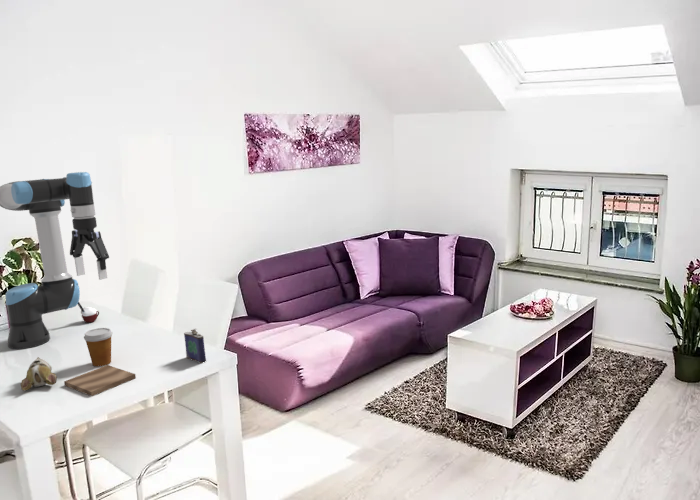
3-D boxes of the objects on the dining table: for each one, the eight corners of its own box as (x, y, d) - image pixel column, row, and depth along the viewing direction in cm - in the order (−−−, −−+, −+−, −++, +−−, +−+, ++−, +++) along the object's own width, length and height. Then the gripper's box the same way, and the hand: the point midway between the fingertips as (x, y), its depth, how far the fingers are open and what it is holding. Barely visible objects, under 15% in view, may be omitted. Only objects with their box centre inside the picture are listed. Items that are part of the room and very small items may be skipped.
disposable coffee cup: (105, 369, 211) (101, 336, 209) (82, 367, 213) (77, 335, 211) (121, 358, 220) (117, 327, 218) (98, 357, 222) (93, 327, 220)
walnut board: (64, 385, 198) (64, 381, 198) (108, 368, 211) (107, 364, 211) (92, 396, 189) (91, 391, 189) (135, 378, 202) (135, 374, 201)
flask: (184, 357, 218) (181, 327, 216) (192, 355, 221) (189, 325, 218) (201, 363, 212) (198, 332, 210) (208, 361, 214) (206, 330, 212)
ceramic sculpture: (54, 349, 207) (54, 366, 194) (58, 372, 209) (58, 390, 196) (19, 356, 203) (17, 373, 190) (24, 379, 205) (21, 398, 192)
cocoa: (99, 317, 272) (95, 292, 269) (102, 321, 266) (98, 295, 264) (76, 322, 267) (72, 296, 264) (78, 325, 261) (75, 299, 259)
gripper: (54, 217, 211) (62, 275, 215) (94, 220, 197) (103, 283, 201) (73, 214, 217) (81, 271, 221) (114, 217, 203) (122, 278, 207)
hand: (91, 276), depth 211 cm, fingers open, 13 cm apart
